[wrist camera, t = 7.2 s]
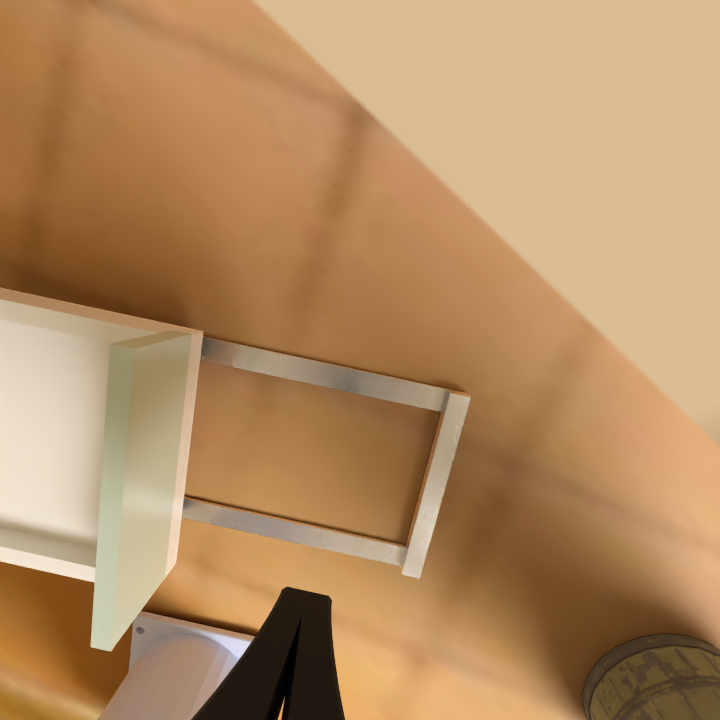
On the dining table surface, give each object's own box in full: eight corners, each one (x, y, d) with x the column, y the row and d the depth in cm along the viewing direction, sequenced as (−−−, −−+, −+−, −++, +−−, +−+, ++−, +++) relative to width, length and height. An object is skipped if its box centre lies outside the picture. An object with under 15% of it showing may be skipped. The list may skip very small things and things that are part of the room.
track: (418, 567, 21) (419, 578, 20) (-30, 468, 21) (-46, 475, 20) (467, 392, 18) (470, 397, 18) (-34, 285, 19) (-52, 285, 18)
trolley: (195, 536, 21) (110, 651, 14) (-12, 490, 21) (-191, 583, 14) (222, 326, 18) (134, 348, 12) (-14, 275, 18) (-231, 270, 12)
